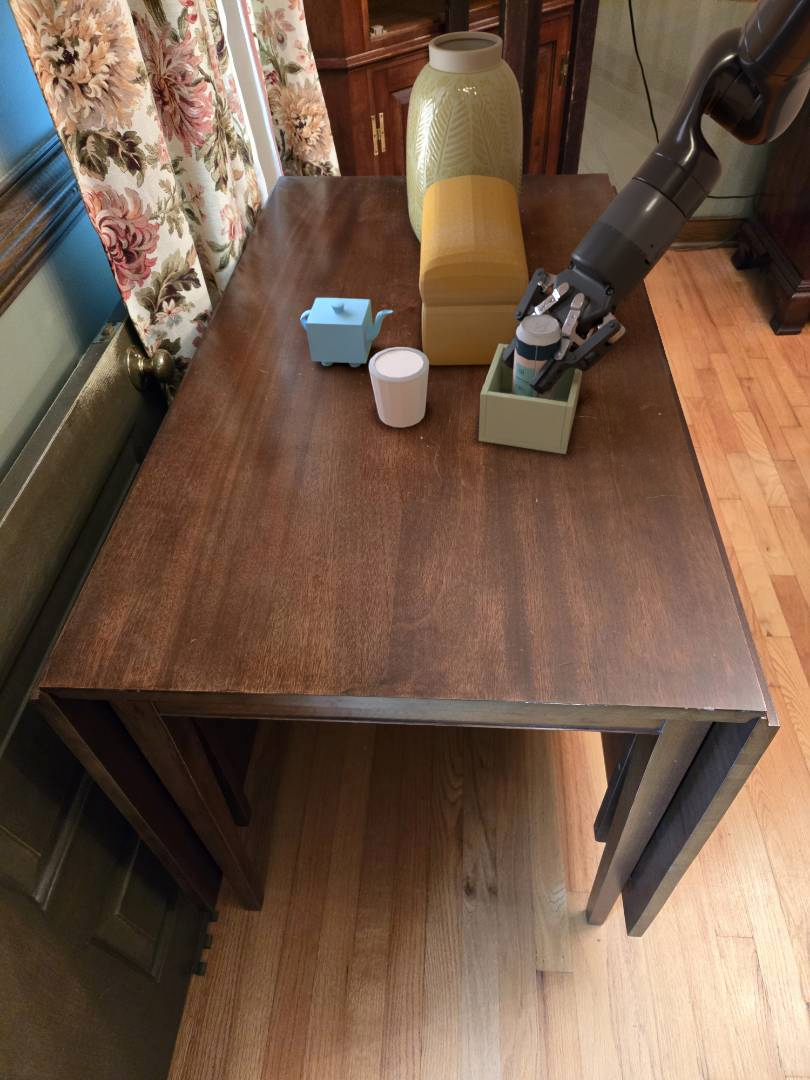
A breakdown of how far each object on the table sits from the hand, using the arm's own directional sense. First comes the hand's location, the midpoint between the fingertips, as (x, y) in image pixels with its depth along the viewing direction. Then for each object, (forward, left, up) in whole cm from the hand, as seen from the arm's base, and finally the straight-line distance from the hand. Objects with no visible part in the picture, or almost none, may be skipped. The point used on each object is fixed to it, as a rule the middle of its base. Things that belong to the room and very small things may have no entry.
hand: (521, 377), depth 79 cm
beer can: (-1, -1, -6) cm, 7 cm away
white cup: (+14, +1, -7) cm, 15 cm away
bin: (-1, -1, -7) cm, 7 cm away
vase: (+17, -43, -7) cm, 47 cm away
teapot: (+24, -9, -7) cm, 26 cm away
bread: (+11, -22, -7) cm, 26 cm away
